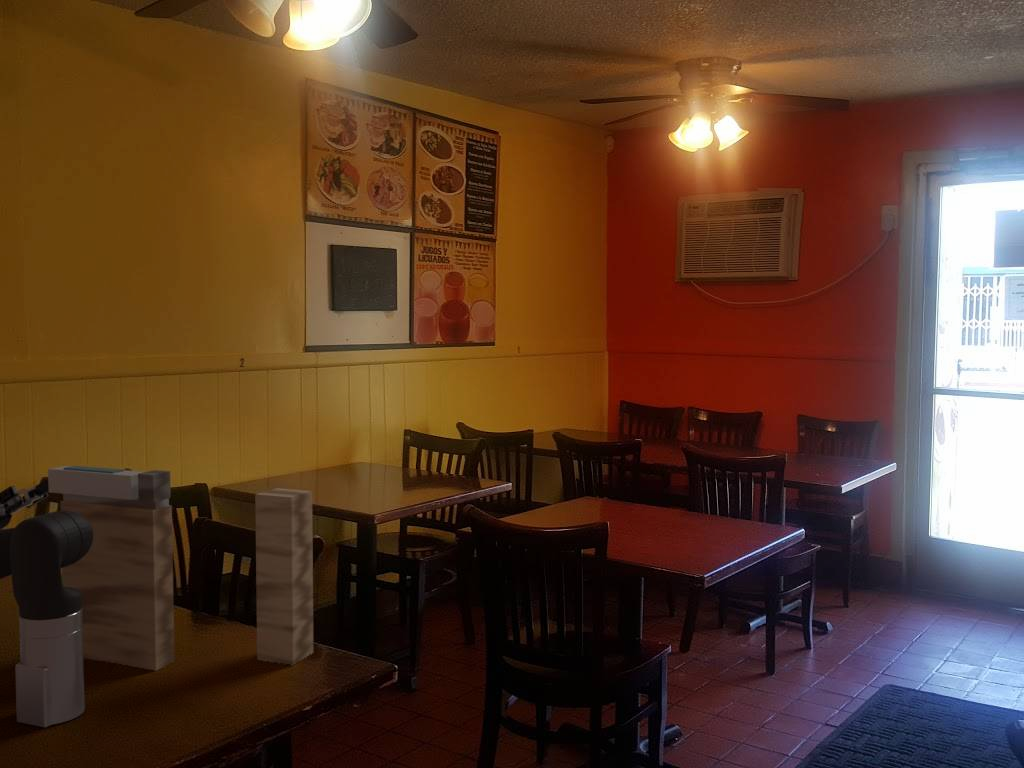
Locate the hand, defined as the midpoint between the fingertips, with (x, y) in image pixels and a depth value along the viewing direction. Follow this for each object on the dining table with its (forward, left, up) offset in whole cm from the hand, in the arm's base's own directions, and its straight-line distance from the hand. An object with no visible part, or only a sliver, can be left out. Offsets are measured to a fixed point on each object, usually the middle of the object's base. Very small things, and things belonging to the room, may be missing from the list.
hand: (33, 486), depth 184 cm
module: (0, -16, 0) cm, 16 cm away
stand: (+13, -49, -32) cm, 60 cm away
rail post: (0, -20, -32) cm, 38 cm away
